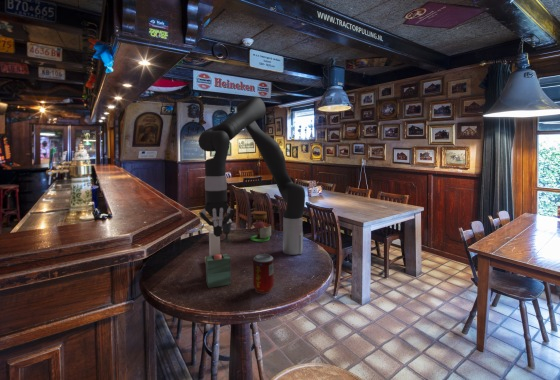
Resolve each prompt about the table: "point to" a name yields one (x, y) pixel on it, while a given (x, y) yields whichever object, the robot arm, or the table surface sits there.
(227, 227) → the sundae
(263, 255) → the soda can
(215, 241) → the carriage
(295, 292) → the table surface
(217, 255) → the red rounded capsule
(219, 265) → the rail
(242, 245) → the table surface
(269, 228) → the toy burger
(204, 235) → the table surface
